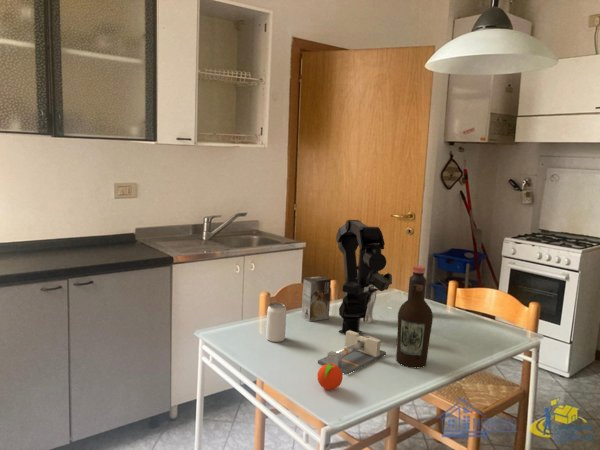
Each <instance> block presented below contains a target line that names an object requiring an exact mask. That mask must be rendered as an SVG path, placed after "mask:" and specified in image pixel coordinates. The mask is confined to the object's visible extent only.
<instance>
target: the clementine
mask: <svg viewBox="0 0 600 450" xmlns="http://www.w3.org/2000/svg"><path fill="white" fill-rule="evenodd" d="M316 375H317V376H316V377H317V381H318V384H319V385H320V386H321V387H322V388H323V389H325V390H327V391H333V390H336V389H337V388H339V387H340V386H341V384H342V382H343V373H342V372H341V370H340V368H339V367H338V366H336V365H335V364H331V363H328V364H325V365H321V367H319V369H318V371H317V374H316Z"/></svg>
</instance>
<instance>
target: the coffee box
mask: <svg viewBox="0 0 600 450" xmlns="http://www.w3.org/2000/svg"><path fill="white" fill-rule="evenodd" d="M302 281H303V283H302V299H301V300H302V301H301V318H304V320H306V321H308V322H314V321H321V320H322V321H323V320H328V319H330V303H331V302H330V301H331V288H332V287H331V284H332V283H331V282H332V279H331V278H329V277H327V276H323V275H320V276H319V275H318V276H307V277H303V280H302Z"/></svg>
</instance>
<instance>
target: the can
mask: <svg viewBox="0 0 600 450" xmlns="http://www.w3.org/2000/svg"><path fill="white" fill-rule="evenodd" d="M286 321H287V308H286V305H285V304H284V303H281V302H272V303H269V304H268V307H267V310H266V330H265V331H266V333H265V334H266V335H265V336H266V337H265V338H266V340H267V341H268V342H271V343H281V342H283V341H284V340H285V337H286V324H287V322H286Z"/></svg>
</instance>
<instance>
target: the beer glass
mask: <svg viewBox="0 0 600 450" xmlns="http://www.w3.org/2000/svg"><path fill="white" fill-rule="evenodd" d="M374 288H375V289H377V288H376V287H375V286H374ZM377 292H378V290H377V291H376V292H374V293H373V294H372V295H371V297H370V299H369V302H368V304H367V311H366V315H365V318H360V323H363V324H371V323H373V322H374V314H373V313H374V308H375V304H376V300H377Z"/></svg>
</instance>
